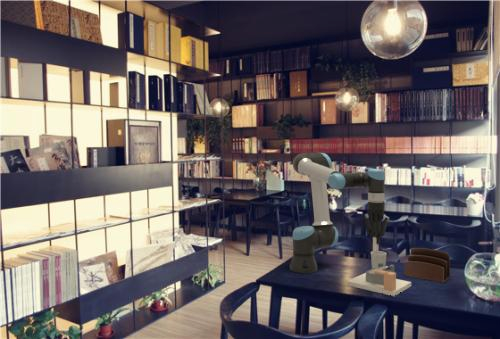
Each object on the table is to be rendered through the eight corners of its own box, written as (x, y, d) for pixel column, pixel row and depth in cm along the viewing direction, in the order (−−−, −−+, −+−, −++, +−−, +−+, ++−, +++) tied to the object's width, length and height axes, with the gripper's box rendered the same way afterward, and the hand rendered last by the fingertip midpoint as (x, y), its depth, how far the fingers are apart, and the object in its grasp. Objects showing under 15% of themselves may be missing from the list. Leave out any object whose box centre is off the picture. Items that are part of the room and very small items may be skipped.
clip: (373, 287, 201) (373, 271, 201) (377, 285, 204) (377, 269, 204) (392, 291, 195) (392, 274, 195) (395, 289, 198) (396, 272, 198)
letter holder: (411, 271, 233) (411, 245, 232) (450, 278, 220) (450, 251, 219) (404, 276, 225) (404, 249, 225) (443, 283, 212) (444, 255, 212)
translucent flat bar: (368, 273, 205) (368, 270, 205) (383, 267, 216) (383, 265, 216) (375, 274, 202) (375, 272, 202) (390, 268, 214) (390, 266, 214)
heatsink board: (347, 285, 211) (347, 267, 210) (365, 276, 225) (366, 259, 224) (394, 296, 194) (394, 276, 194) (411, 286, 208) (411, 267, 208)
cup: (387, 277, 222) (387, 254, 221) (371, 277, 223) (371, 254, 223) (385, 273, 229) (385, 251, 229) (370, 272, 231) (370, 250, 230)
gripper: (359, 201, 207) (359, 249, 208) (385, 203, 198) (384, 254, 199) (367, 199, 212) (366, 246, 213) (392, 201, 203) (392, 251, 204)
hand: (375, 250), depth 206 cm, fingers closed
